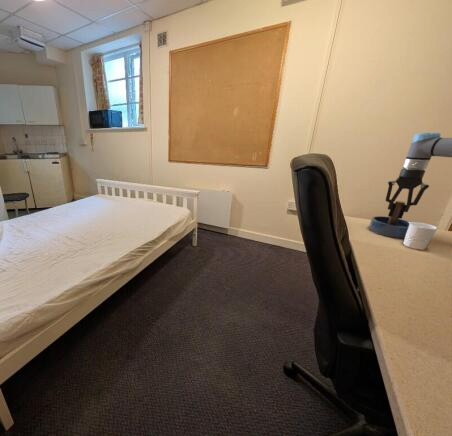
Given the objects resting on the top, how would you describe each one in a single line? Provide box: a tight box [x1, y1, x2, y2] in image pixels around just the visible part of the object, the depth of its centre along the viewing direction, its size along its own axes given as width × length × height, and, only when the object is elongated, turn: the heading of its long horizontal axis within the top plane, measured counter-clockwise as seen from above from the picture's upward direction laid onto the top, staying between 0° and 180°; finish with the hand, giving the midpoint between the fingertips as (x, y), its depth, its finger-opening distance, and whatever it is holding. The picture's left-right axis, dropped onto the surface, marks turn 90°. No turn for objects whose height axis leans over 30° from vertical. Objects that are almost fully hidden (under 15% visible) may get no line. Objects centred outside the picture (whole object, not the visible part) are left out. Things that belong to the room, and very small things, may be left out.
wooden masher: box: [387, 200, 406, 226], centre depth 108 cm, size 5×5×15 cm
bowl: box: [368, 215, 412, 239], centre depth 110 cm, size 15×16×6 cm
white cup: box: [403, 221, 438, 251], centre depth 96 cm, size 8×8×10 cm
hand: (394, 216), depth 108 cm, fingers closed on wooden masher, 3 cm apart
